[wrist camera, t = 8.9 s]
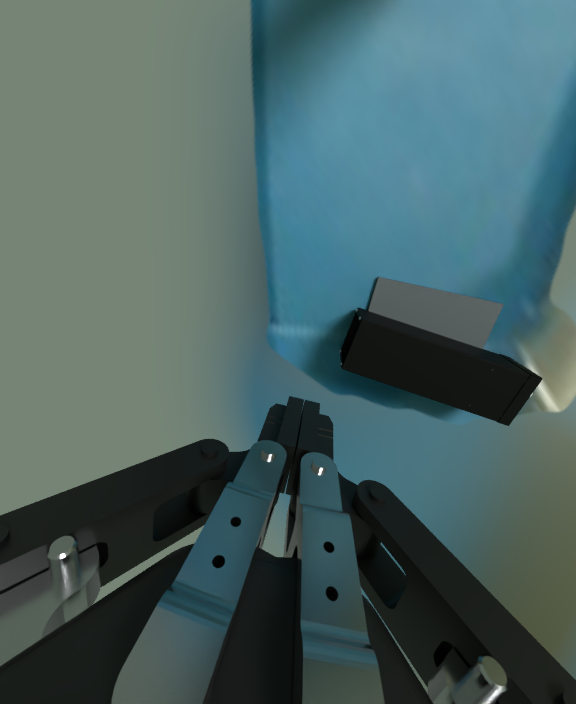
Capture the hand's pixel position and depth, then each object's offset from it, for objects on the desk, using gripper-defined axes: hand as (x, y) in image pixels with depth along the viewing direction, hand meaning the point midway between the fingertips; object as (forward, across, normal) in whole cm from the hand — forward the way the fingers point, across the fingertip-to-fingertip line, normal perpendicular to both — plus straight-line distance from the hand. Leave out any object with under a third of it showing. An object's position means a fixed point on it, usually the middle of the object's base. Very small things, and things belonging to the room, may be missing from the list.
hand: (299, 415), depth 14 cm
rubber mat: (+35, -17, +2) cm, 39 cm away
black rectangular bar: (+30, -5, +4) cm, 31 cm away
